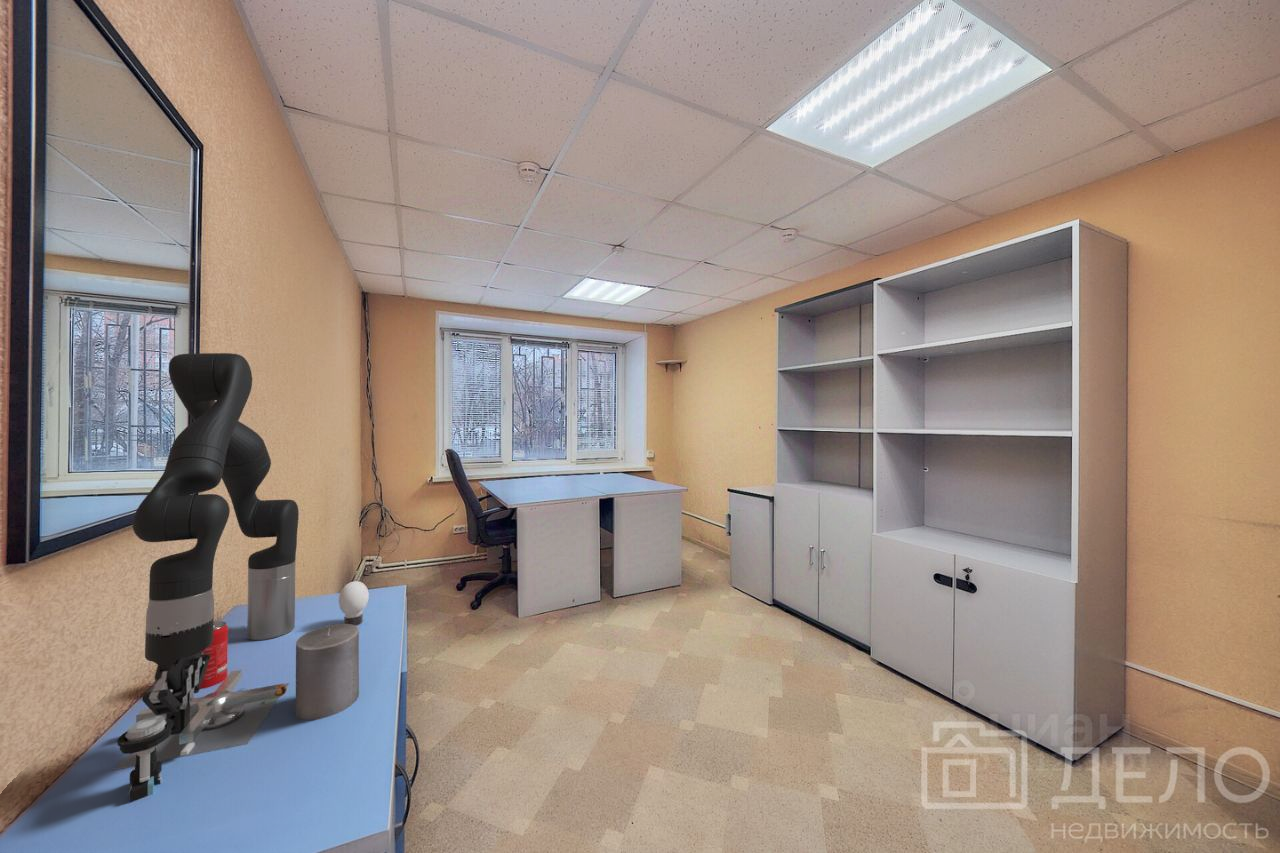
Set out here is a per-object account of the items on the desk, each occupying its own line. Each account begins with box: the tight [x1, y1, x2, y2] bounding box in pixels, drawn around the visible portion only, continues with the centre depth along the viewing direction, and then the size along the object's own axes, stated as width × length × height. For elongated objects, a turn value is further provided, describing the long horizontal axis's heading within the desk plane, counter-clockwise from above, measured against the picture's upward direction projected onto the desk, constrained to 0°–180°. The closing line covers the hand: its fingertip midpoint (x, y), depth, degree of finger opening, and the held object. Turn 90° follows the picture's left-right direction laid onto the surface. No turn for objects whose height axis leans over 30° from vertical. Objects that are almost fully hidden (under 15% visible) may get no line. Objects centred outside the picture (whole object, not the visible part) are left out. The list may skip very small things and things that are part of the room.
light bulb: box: [338, 580, 370, 626], centre depth 118 cm, size 7×7×11 cm
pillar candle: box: [295, 623, 360, 721], centre depth 83 cm, size 10×10×15 cm
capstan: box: [135, 669, 288, 745], centre depth 78 cm, size 20×19×4 cm
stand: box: [113, 682, 290, 771], centre depth 77 cm, size 18×16×2 cm
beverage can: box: [200, 620, 229, 690], centre depth 89 cm, size 5×5×12 cm
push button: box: [116, 716, 174, 803], centre depth 64 cm, size 7×5×10 cm
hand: (177, 731), depth 70 cm, fingers closed
